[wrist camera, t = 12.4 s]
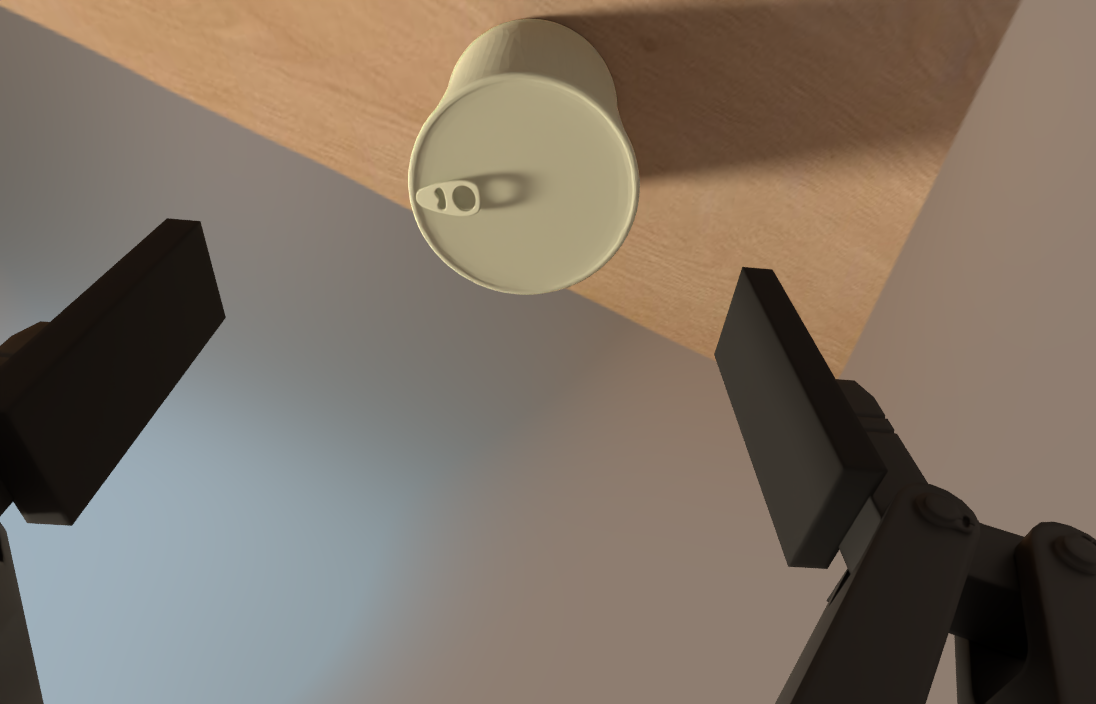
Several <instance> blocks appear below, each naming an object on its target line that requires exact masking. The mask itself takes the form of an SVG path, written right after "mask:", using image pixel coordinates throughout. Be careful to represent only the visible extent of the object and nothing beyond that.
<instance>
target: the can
mask: <svg viewBox="0 0 1096 704" xmlns="http://www.w3.org/2000/svg"><path fill="white" fill-rule="evenodd" d="M408 186H409V196H410V202H411V206H412V210H413V214H414V217H415V219H416V222H417V224H418V226H419V228H420V230H421V232H422V234H423V236H424V237H425V239H426V241H427V242H428V243H429V245H430V247H431V248H432V249H433V250H434V252H435V253H436V254H437V255H438V256H439V257H440V258H441V259H442V260H443V261H444V262H445V263H446V264H447V265H448V266H449V267H451V268H452V269H453V270H454V271H456V272H457V273H459V274H460V275H462V276H463V277H465V278H467V279H469V280H470V281H472V282H474V283H476V284H478V285H481V286H484V287H486V288H489V289H492V290H496V291H500V292H505V293H512V294H542V293H548V292H553V291H557V290H561V289H564V288H567V287H570V286H572V285H574V284H576V283H579V282H581V281H583V280H584V279H586V278H588V277H590V276H591V275H592V274H594V273H595V272H597V271H598V270H599V269H600V268H602V267H603V266H604V265H605V264H606V263H607V262H608V261H609V260H610V259H611V258H612V257H613V256H614V255H615V253H616V252H617V251H618V249H619V248H620V247H621V245H622V244H623V242H624V240H625V239H626V237H627V235H628V233H629V231H630V229H631V227H632V224H633V222H634V219H635V215H636V212H637V207H638V202H639V193H640V179H639V169H638V164H637V160H636V156H635V152H634V149H633V147H632V144H631V142H630V140H629V137H628V135H627V133H626V132H625V130H624V127H623V124H622V121H621V118H620V115H619V112H618V109H617V96H616V90H615V86H614V82H613V79H612V76H611V74H610V72H609V69H608V67H607V66H606V64H605V62H604V60H603V59H602V57H601V56H600V54H599V53H598V52H597V51H596V49H595V48H594V47H593V46H592V45H591V44H590V43H589V42H588V41H587V40H586V39H585V38H583V37H582V36H581V35H579V34H578V33H576V32H575V31H573V30H571V29H569V28H568V27H565V26H563V25H561V24H558V23H555V22H552V21H547V20H542V19H520V20H514V21H509V22H506V23H503V24H500V25H498V26H496V27H493V28H492V29H490V30H488V31H486V32H485V33H483V34H482V35H480V36H479V37H478V38H477V39H476V40H474V41H473V42H472V43H471V44H470V45H469V47H468V48H467V49H466V50H465V51H464V53H463V54H462V56H461V57H460V59H459V60H458V62H457V64H456V66H455V68H454V70H453V73H452V75H451V78H450V81H449V85H448V88H447V90H446V92H445V94H444V96H443V98H442V99H441V101H440V103H439V105H438V106H437V108H436V109H435V110H434V111H433V112H432V114H431V115H430V116H429V118H428V119H427V120H426V122H425V123H424V125H423V127H422V128H421V130H420V133H419V135H418V137H417V139H416V142H415V144H414V147H413V150H412V154H411V158H410V164H409V173H408Z"/></svg>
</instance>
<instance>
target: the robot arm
mask: <svg viewBox="0 0 1096 704" xmlns="http://www.w3.org/2000/svg"><path fill="white" fill-rule="evenodd" d="M224 319H225V313H224V309H223V306H222V302H221V298H220V294H219V291H218V287H217V283H216V279H215V275H214V272H213V268H212V264H211V260H210V256H209V252H208V248H207V245H206V241H205V237H204V233H203V229H202V226H201V222H200V221H191V220H179V219H166V220H165V221H164V222H162V224H160V225H159V226H158V227H157V228H156V229H155V230H153V231H152V232H151V233H150V234H149V235H148V236H147V237H146V238H145V239H143V240H142V241H141V242H140V243H139V244H138V245H137V246H135V247H134V248H133V249H132V250H131V251H130V252H129V253H128V254H126V255H125V256H124V257H123V258H122V259H121V260H120V261H118V262H117V263H116V264H115V265H114V266H113V267H112V268H111V269H110V270H109V271H107V272H106V273H105V274H104V275H103V276H102V277H100V278H99V279H98V280H97V281H96V282H95V283H94V284H93V285H92V286H90V287H89V288H88V289H87V290H86V291H85V292H83V293H82V294H81V295H80V296H79V297H78V298H77V299H76V300H75V301H73V302H72V303H71V304H70V305H69V306H68V307H67V308H65V309H64V310H63V311H62V312H61V313H60V314H59V315H58V316H56V317H55V318H54V319H53V320H52V321H51V322H39V323H36V324H35V325H33V326H31V327H29V328H26V329H24V330H23V331H21V332H18V333H17V334H15V335H13V336H11V337H10V338H9V339H8V340H6V341H5V342H4V343H3V344H2V345H1V346H0V516H1V515H2V514H3V513H4V511H5V510H6V509H7V508H8V506H9V505H10V504H11V503H12V502H14V503H15V505H16V506H17V508H18V510H19V511H20V513H21V514H22V516H23V517H24V519H25V520H26V522H27V523H35V524H53V525H70V526H72V525H73V524H74V522H75V521H76V519H77V518H78V517H79V515H80V514H81V513H82V511H83V510H84V509H85V507H86V506H87V505H88V503H89V502H90V500H91V499H92V498H93V496H94V495H95V494H96V492H97V491H98V490H99V488H100V487H101V485H102V484H103V483H104V482H105V480H106V479H107V477H108V476H109V475H110V473H111V472H112V471H113V469H114V468H115V467H116V465H117V464H118V463H119V461H120V460H121V459H122V457H123V456H124V455H125V453H126V452H127V450H128V449H129V448H130V446H131V445H132V444H133V442H134V441H135V440H136V438H137V437H138V436H139V434H140V433H141V431H142V430H143V429H144V427H145V426H146V425H147V423H148V422H149V421H150V419H151V418H152V417H153V415H154V414H155V412H156V411H157V410H158V408H159V407H160V406H161V404H162V403H163V402H164V400H165V399H166V398H167V396H168V395H169V393H170V392H171V391H172V390H173V388H174V387H175V385H176V384H177V383H178V381H179V380H180V379H181V377H182V376H183V375H184V373H185V372H186V371H187V369H188V368H189V366H190V365H191V363H192V362H193V361H194V360H195V358H196V357H197V356H198V354H199V353H200V352H201V350H202V349H203V348H204V346H205V344H206V343H207V342H208V341H209V339H210V338H211V336H212V335H213V334H214V332H215V331H216V330H217V329H218V327H219V326H220V324H221V323H222V322H223V320H224ZM714 355H715V358H716V361H717V364H718V367H719V369H720V372H721V375H722V378H723V381H724V384H725V387H726V390H727V393H728V395H729V398H730V401H731V404H732V407H733V410H734V412H735V415H736V418H737V421H738V424H739V427H740V430H741V433H742V436H743V438H744V441H745V444H746V447H747V450H748V453H749V456H750V458H751V461H752V464H753V467H754V470H755V473H756V476H757V478H758V481H759V484H760V487H761V490H762V493H763V496H764V498H765V501H766V504H767V507H768V510H769V513H770V516H771V518H772V521H773V524H774V527H775V530H776V533H777V536H778V539H779V541H780V544H781V547H782V550H783V553H784V556H785V558H786V561H787V564H788V566H789V567H805V568H806V567H807V568H822V569H828V567H829V565H830V564H831V562H832V561H833V559H834V557H835V556H836V554H837V552H838V551H839V549H840V551H841V554H842V556H843V558H844V561H845V563H846V565H847V568H848V569H847V570H846V572H845V573H844V575H843V576H842V578H841V579H840V581H839V583H838V584H837V585H836V587H835V589H834V590H833V592H832V593H831V595H830V596H829V598H828V599H827V601H828V604H827V606H826V608H825V610H824V612H823V614H822V616H821V618H820V619H819V622H818V623H817V625H816V627H815V629H814V631H813V633H812V635H811V637H810V638H809V640H808V642H807V644H806V646H805V648H804V650H803V652H802V654H801V656H800V657H799V659H798V661H797V663H796V665H795V667H794V669H793V671H792V673H791V674H790V676H789V678H788V680H787V682H786V684H785V686H784V688H783V690H782V692H781V693H780V695H779V697H778V699H777V701H776V703H775V704H925V703H926V700H927V697H928V694H929V691H930V688H931V685H932V682H933V679H934V676H935V673H936V669H937V667H938V664H939V661H940V657H941V654H942V651H943V648H944V645H945V642H946V639H947V636H948V633H950V634H953V635H955V657H956V678H957V679H956V680H957V702H958V704H1096V540H1095V539H1094V538H1092V537H1091V536H1090V535H1088V534H1086V533H1084V532H1082V531H1080V530H1078V529H1076V528H1073V527H1072V526H1068V525H1065V524H1061V523H1057V522H1041V523H1039V524H1038V525H1036V526H1035V527H1033V528H1032V530H1031V531H1030V532H1029V533H1028V534H1027V535H1026V536H1025V537H1023V536H1020V535H1016V534H1013V533H1010V532H1006V531H1004V530H1000V529H997V528H994V527H990V526H987V525H984V524H982V523H979V521H978V520H977V518H976V516H975V514H974V512H973V511H972V510H971V509H970V508H969V507H968V506H967V505H966V504H965V503H964V502H963V501H962V500H960V499H959V498H957V497H956V496H954V495H953V494H951V493H950V492H948V491H946V490H944V489H941V488H939V487H936V486H934V485H931V484H928V483H927V481H926V480H925V478H924V476H923V475H922V473H921V472H920V470H919V468H918V467H917V465H916V463H915V462H914V460H913V459H912V457H911V456H910V454H909V452H908V451H907V449H906V448H905V446H904V444H903V443H902V441H901V440H900V438H899V436H898V435H897V434H894V429H893V427H892V425H891V424H890V422H889V421H888V419H885V414H884V413H883V411H882V410H881V408H880V406H879V405H878V403H877V401H876V400H875V398H874V397H873V396H872V395H871V394H869V393H868V392H867V391H866V390H865V389H864V388H862V387H861V386H860V385H859V384H858V383H857V382H855V381H852V380H839V379H835V377H834V376H833V374H832V372H831V370H830V369H829V367H828V365H827V363H826V362H825V360H824V358H823V356H822V355H821V353H820V351H819V350H818V348H817V346H816V344H815V343H814V341H813V339H812V337H811V336H810V334H809V332H808V330H807V329H806V327H805V325H804V323H803V322H802V320H801V318H800V317H799V315H798V313H797V311H796V310H795V308H794V306H793V304H792V303H791V301H790V299H789V297H788V296H787V294H786V292H785V290H784V289H783V287H782V285H781V283H780V282H779V280H778V278H777V277H776V275H775V273H774V271H773V270H771V269H760V268H748V267H742V270H741V273H740V276H739V279H738V282H737V286H736V289H735V292H734V295H733V298H732V301H731V304H730V307H729V311H728V314H727V317H726V320H725V323H724V326H723V329H722V332H721V335H720V339H719V342H718V345H717V348H716V351H715V354H714ZM0 704H44V703H43V699H42V694H41V689H40V685H39V680H38V675H37V671H36V666H35V662H34V657H33V653H32V648H31V643H30V639H29V634H28V629H27V625H26V620H25V615H24V611H23V606H22V601H21V597H20V592H19V588H18V583H17V578H16V574H15V569H14V564H13V560H12V555H11V550H10V546H9V541H8V537H7V532H6V530H5V529H4V527H3V526H2V524H1V523H0Z"/></svg>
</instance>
